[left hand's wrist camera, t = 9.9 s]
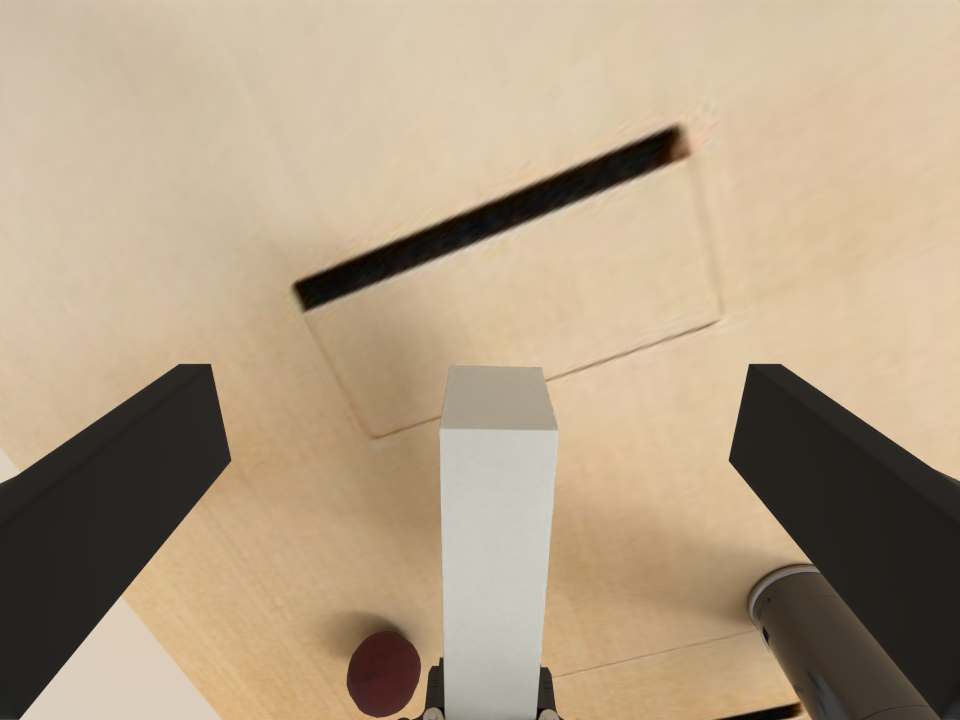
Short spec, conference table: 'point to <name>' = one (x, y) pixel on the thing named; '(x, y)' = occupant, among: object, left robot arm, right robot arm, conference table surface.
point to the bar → (495, 537)
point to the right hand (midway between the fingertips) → (490, 666)
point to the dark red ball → (383, 674)
